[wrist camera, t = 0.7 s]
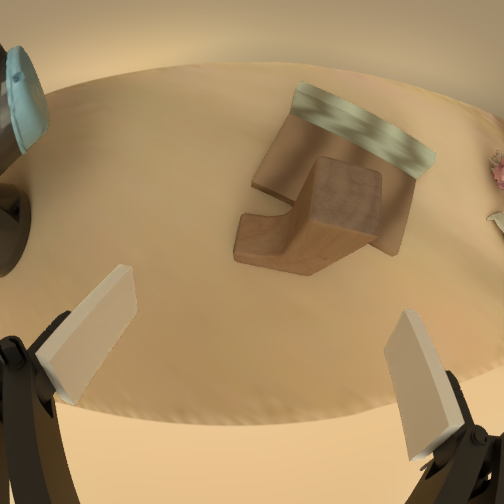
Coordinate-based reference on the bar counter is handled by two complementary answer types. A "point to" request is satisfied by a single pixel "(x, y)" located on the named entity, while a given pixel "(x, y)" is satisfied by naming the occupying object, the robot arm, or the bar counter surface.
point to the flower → (503, 177)
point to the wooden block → (316, 221)
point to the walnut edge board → (345, 155)
